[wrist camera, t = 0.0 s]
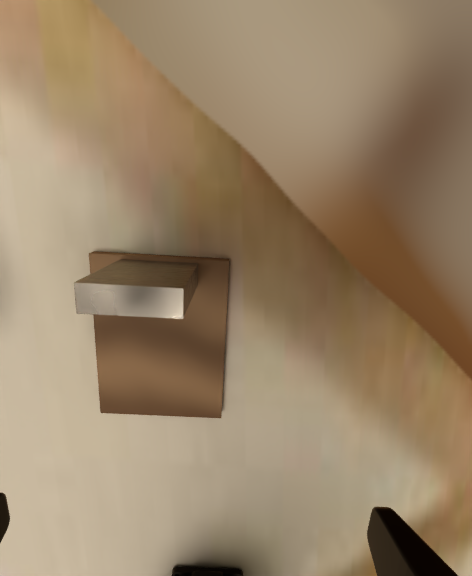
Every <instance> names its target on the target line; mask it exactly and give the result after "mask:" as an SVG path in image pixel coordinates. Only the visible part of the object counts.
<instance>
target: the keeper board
mask: <svg viewBox="0 0 472 576" xmlns="http://www.w3.org/2000/svg"><path fill="white" fill-rule="evenodd" d="M120 259H130V260H148V261H167V262H185V263H198V286H197V288H196V290H195V293H194V295H193V297H192V300H191V302H190V304H189V307H188V309H187V311H186V313H185V316H184V318H183V319H176V318H156V317H136V316H116V315H97V314H93V315H94V329H95V343H96V356H97V370H98V383H99V397H100V411H101V413H116V414H139V415H161V416H184V417H207V418H221V412H222V393H223V374H224V354H225V335H226V315H227V296H228V276H229V259H223V258H204V257H186V256H168V255H150V254H131V253H113V252H95V251H94V252H92V253H89V261H90V274H92V273H94V272H96V271H98V270H100V269H102V268H104V267H106V266H108V265H110V264H112V263H114V262H116V261H118V260H120Z"/></svg>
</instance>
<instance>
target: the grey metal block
mask: <svg viewBox="0 0 472 576" xmlns="http://www.w3.org/2000/svg"><path fill="white" fill-rule="evenodd" d="M197 286H198V263H185V262H167V261H148V260H130V259H120V260H118V261H116V262H114V263H112V264H110V265H108V266H106V267H104V268H102V269H100V270H98V271H96V272H94V273H92V274H90V275H88V276H86V277H84V278H82V279H80V280H78V281H76V282H74V290H75V301H76V312H77V314H97V315H116V316H136V317H156V318H176V319H183V318H184V316H185V313H186V311H187V309H188V307H189V304H190V302H191V300H192V297H193V295H194V293H195V290H196V288H197Z"/></svg>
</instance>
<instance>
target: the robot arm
mask: <svg viewBox="0 0 472 576" xmlns="http://www.w3.org/2000/svg"><path fill="white" fill-rule="evenodd" d="M9 522H10V515H9V510H8V504H7V499H6V495H5V494H4V493H0V543H1V541H2V539H3V537H4V535H5V533H6V531H7V528H8V526H9ZM367 537H368V543H369V547H370V551H371V554H372V558H373V562H374V565H375V569H376V573H377V576H458V575H457V574H456V573H455V572H454V571H453V570H452V569H451V568H450V567H449V566H448V565H447V564H446V563H445V562H444V561H443V560H442V559H441V558H440V557H439V556H438V555H437V554H436V553H435V552H434V551H433V550H432V549H431V548H430V547H429V546H428V545H427V544H426V543H425V542H424V541H423V540H422V539H421V538H420V537H419V536H418V535H417V534H416V533H415V532H414V530H413V529H412V528H411V527H410V526H409V525H408V524H407V523H406V522H405V521H404V520H403V519H402V518H401V517H400V516H399V515H398V514H397V513H396V512H395V511H394V510H392V509H391V508H388V507H374V508H373V509H372V513H371V517H370V521H369V526H368V530H367ZM172 576H243V571H242V570H240V569H222V568H193V567H175V568H174V569H173V571H172Z"/></svg>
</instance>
